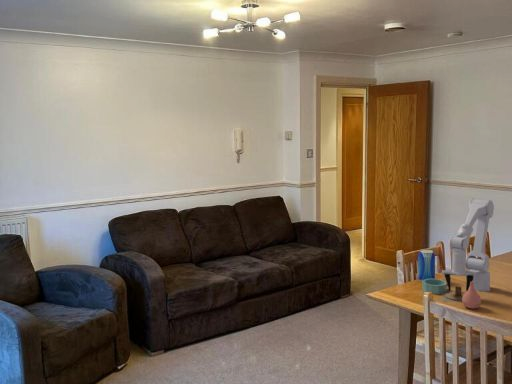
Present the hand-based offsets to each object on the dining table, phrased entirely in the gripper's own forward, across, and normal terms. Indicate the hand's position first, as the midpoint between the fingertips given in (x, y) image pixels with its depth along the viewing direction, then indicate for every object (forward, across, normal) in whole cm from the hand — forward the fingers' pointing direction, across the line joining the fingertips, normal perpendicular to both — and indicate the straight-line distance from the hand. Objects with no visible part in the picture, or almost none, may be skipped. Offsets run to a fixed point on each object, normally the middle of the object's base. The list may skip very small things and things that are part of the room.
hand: (458, 290), depth 233 cm
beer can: (+4, -13, +23) cm, 27 cm away
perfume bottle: (+4, +4, -13) cm, 14 cm away
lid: (+3, 0, 0) cm, 3 cm away
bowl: (+3, -10, +8) cm, 13 cm away
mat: (+3, 0, 0) cm, 4 cm away
